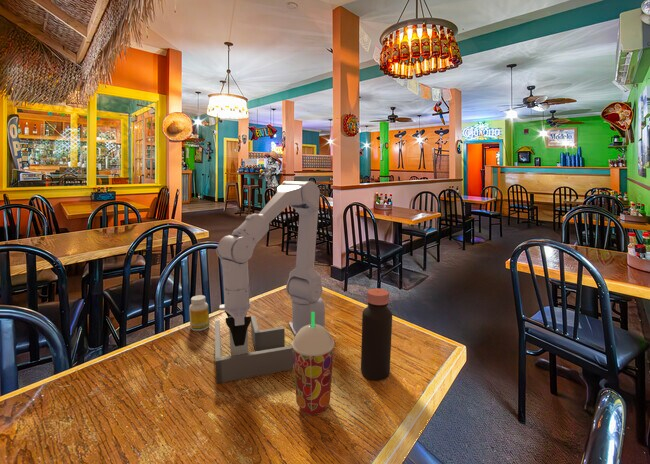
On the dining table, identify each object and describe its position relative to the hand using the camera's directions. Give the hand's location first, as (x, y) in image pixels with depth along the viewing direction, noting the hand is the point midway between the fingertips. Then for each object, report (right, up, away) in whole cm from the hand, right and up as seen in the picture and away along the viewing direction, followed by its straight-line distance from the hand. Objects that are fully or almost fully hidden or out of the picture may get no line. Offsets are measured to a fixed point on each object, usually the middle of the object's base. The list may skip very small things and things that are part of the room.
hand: (238, 340), depth 79 cm
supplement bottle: (-17, -3, +20) cm, 27 cm away
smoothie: (+18, -9, -13) cm, 24 cm away
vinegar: (+33, -7, -2) cm, 33 cm away
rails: (+1, -5, +7) cm, 9 cm away
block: (0, -2, 0) cm, 2 cm away
